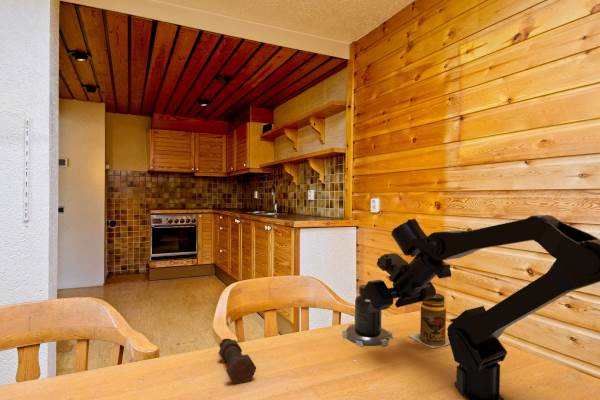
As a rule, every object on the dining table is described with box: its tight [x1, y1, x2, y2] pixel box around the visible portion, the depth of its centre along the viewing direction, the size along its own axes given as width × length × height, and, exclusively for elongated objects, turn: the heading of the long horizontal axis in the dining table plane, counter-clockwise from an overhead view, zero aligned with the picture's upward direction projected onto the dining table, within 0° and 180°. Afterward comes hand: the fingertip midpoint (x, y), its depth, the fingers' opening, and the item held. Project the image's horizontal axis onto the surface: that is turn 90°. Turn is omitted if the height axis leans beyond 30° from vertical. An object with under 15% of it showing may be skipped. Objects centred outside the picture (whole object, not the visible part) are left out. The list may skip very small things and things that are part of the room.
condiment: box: [408, 292, 450, 349], centre depth 92 cm, size 7×8×12 cm
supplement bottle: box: [354, 284, 383, 337], centre depth 94 cm, size 7×7×12 cm
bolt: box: [218, 338, 257, 385], centre depth 77 cm, size 6×5×15 cm
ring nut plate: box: [342, 323, 393, 347], centre depth 94 cm, size 13×12×1 cm
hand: (382, 308), depth 89 cm, fingers open, 9 cm apart
